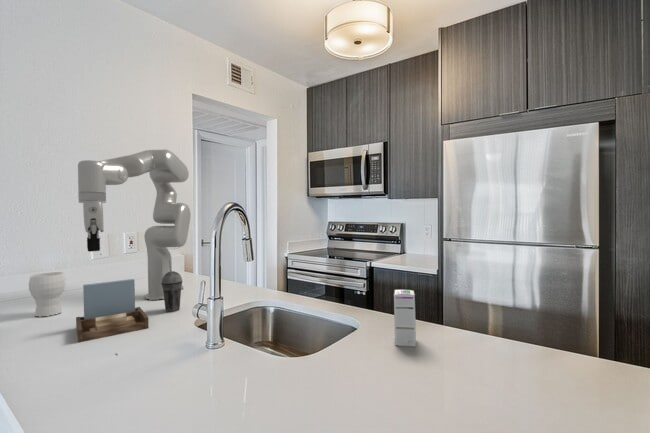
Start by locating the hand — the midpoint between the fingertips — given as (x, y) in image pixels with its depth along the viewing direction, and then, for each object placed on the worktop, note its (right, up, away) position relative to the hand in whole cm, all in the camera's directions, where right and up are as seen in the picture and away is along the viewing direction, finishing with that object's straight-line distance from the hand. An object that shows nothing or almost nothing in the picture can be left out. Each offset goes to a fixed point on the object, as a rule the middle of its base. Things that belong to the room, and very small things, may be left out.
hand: (93, 249), depth 112 cm
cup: (-27, -26, +14) cm, 40 cm away
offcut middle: (+11, -23, -7) cm, 27 cm away
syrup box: (+100, -25, -16) cm, 104 cm away
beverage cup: (+20, -25, +14) cm, 35 cm away
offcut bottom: (+11, -25, -7) cm, 28 cm away
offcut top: (+11, -22, -7) cm, 25 cm away
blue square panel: (+6, -25, -1) cm, 25 cm away
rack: (+9, -26, -5) cm, 28 cm away
